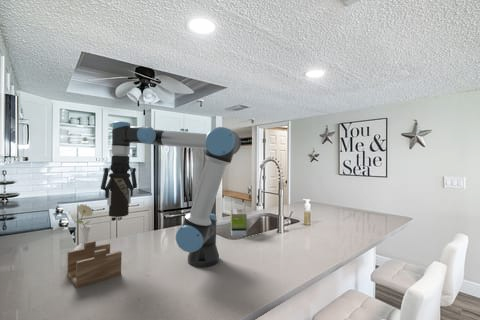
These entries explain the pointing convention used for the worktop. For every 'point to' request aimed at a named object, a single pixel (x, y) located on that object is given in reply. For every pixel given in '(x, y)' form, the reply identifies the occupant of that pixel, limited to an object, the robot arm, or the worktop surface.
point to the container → (119, 194)
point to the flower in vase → (85, 229)
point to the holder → (93, 264)
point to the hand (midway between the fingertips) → (119, 204)
